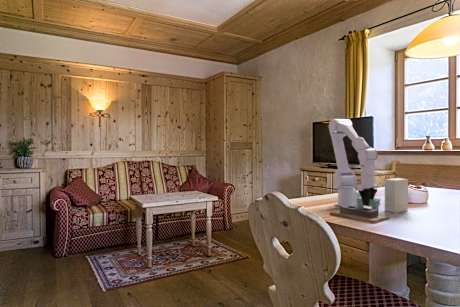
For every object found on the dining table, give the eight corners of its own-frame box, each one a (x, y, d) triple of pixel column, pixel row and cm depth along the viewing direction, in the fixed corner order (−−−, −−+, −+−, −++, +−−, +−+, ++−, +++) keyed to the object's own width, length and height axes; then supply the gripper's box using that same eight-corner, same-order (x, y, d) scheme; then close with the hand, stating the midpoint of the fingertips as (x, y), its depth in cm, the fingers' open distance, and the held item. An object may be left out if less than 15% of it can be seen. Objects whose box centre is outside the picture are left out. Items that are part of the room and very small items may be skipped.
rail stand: (345, 210, 144) (345, 203, 144) (388, 218, 128) (388, 210, 128) (329, 214, 137) (329, 206, 137) (373, 223, 121) (373, 214, 121)
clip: (359, 210, 145) (359, 197, 145) (378, 213, 138) (378, 200, 138) (356, 210, 144) (356, 197, 144) (375, 214, 137) (376, 200, 136)
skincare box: (397, 208, 147) (397, 177, 146) (408, 211, 141) (408, 178, 141) (383, 210, 144) (383, 178, 143) (394, 213, 138) (394, 179, 138)
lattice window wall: (380, 204, 159) (380, 192, 158) (379, 204, 157) (379, 193, 157) (356, 201, 166) (356, 190, 166) (355, 202, 165) (355, 191, 165)
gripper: (367, 177, 133) (367, 208, 133) (384, 174, 142) (384, 204, 142) (352, 175, 138) (352, 206, 139) (369, 173, 147) (369, 202, 148)
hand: (367, 205), depth 141 cm, fingers closed on clip, 2 cm apart
